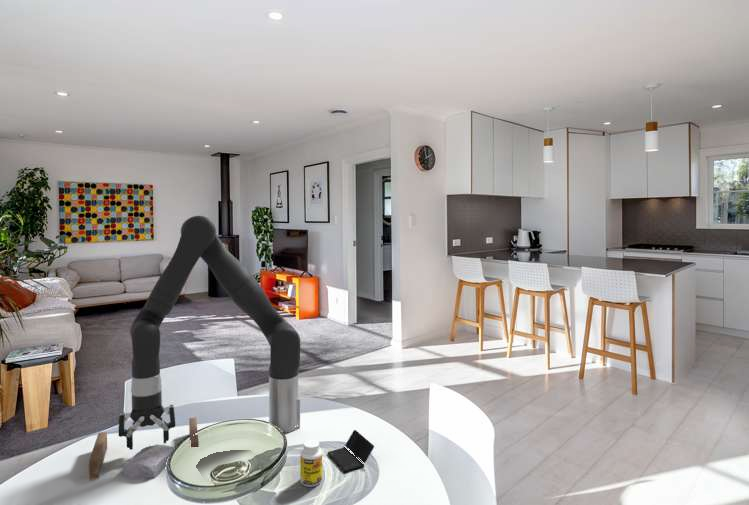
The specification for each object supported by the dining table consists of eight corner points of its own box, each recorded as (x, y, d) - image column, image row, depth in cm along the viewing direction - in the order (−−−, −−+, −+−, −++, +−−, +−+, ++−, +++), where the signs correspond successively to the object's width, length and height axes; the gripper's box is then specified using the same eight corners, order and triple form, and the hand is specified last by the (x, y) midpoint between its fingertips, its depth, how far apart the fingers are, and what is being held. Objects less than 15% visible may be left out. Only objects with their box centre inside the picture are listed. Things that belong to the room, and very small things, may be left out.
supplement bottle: (301, 489, 111) (301, 450, 110) (299, 476, 117) (299, 439, 116) (323, 486, 112) (323, 447, 112) (320, 474, 118) (321, 436, 117)
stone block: (120, 485, 115) (157, 479, 114) (116, 467, 115) (153, 461, 114) (146, 461, 127) (179, 456, 126) (143, 445, 126) (176, 439, 126)
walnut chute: (196, 432, 139) (196, 417, 138) (198, 458, 124) (198, 441, 124) (99, 449, 128) (98, 432, 128) (89, 480, 113) (88, 461, 113)
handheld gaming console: (321, 452, 126) (341, 420, 128) (336, 459, 130) (355, 428, 133) (345, 476, 117) (366, 442, 120) (360, 482, 122) (380, 449, 124)
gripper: (174, 381, 131) (175, 434, 133) (118, 388, 125) (120, 444, 127) (174, 390, 125) (175, 446, 126) (116, 399, 119) (118, 457, 120)
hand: (148, 445), depth 126 cm, fingers open, 8 cm apart
